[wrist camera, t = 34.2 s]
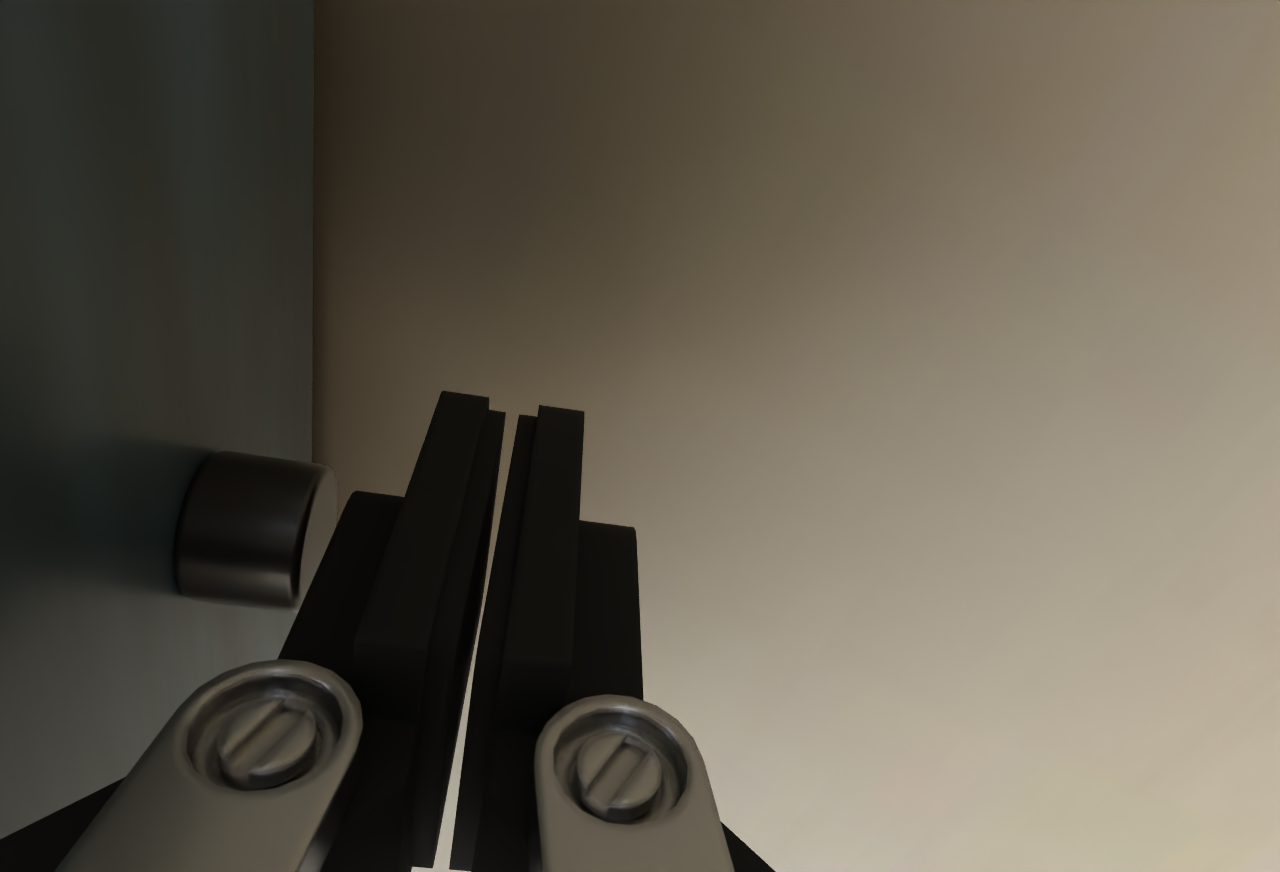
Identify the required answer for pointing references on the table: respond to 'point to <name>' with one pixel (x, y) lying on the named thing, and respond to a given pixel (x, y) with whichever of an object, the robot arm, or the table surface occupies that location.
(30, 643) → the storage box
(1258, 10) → the table surface
